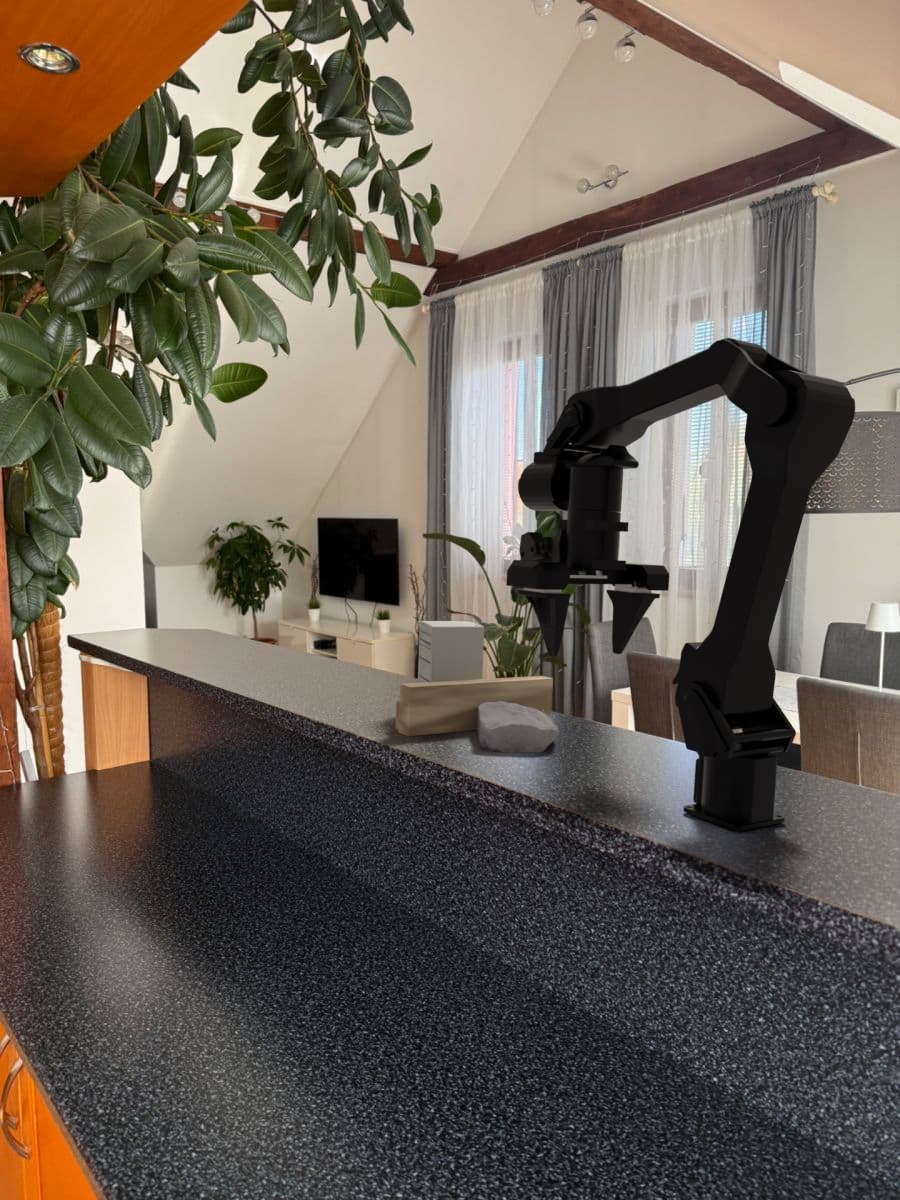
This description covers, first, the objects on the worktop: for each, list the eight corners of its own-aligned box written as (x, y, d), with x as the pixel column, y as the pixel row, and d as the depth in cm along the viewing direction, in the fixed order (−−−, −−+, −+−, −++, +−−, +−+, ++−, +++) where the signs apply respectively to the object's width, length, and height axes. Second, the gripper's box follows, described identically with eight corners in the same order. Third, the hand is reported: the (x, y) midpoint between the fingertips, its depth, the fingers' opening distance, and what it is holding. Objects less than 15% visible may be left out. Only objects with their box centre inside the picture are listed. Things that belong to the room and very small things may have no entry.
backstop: (550, 722, 122) (552, 678, 121) (408, 736, 110) (410, 687, 110) (530, 716, 125) (532, 673, 125) (390, 729, 114) (392, 681, 113)
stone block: (545, 747, 116) (469, 729, 116) (554, 711, 116) (478, 692, 115) (558, 774, 105) (474, 754, 104) (569, 734, 104) (484, 714, 104)
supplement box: (465, 708, 129) (469, 620, 129) (481, 719, 122) (485, 626, 121) (415, 709, 127) (418, 619, 126) (428, 720, 120) (432, 625, 119)
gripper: (607, 515, 110) (600, 643, 111) (480, 506, 100) (473, 647, 101) (676, 516, 100) (667, 656, 102) (543, 506, 90) (535, 662, 92)
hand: (585, 655), depth 99 cm, fingers open, 9 cm apart
